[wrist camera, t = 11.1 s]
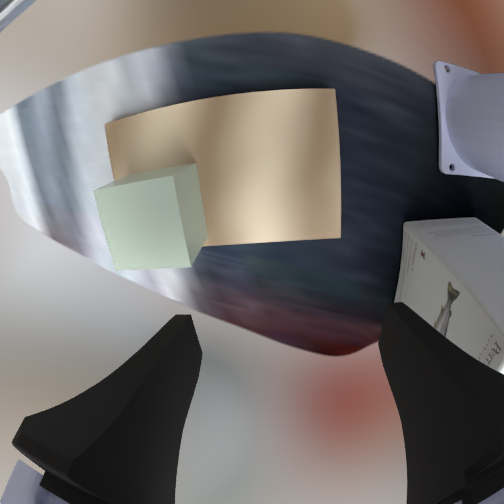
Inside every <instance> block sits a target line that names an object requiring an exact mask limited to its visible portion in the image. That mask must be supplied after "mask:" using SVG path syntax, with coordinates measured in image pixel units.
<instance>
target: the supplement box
mask: <svg viewBox="0 0 504 504" xmlns="http://www.w3.org/2000/svg"><path fill="white" fill-rule="evenodd" d="M395 302H403V303H404V304H406V305H407V306H408V307H410V308H411V309H412V310H413V311H414V312H416V313H417V314H418V315H419V316H420V317H422V318H423V319H424V320H425V321H426V322H428V323H429V324H430V325H431V326H432V327H434V328H435V329H436V330H437V331H438V332H440V333H441V334H442V335H443V336H445V337H446V338H447V339H449V340H450V341H451V342H452V343H454V344H455V345H457V346H458V347H459V348H461V349H462V350H463V351H465V352H466V353H468V354H469V355H471V356H472V357H474V358H475V359H477V360H479V361H480V362H482V363H483V364H485V365H487V366H489V367H490V368H492V369H494V370H496V371H498V372H500V373H502V374H504V237H503V236H502V235H500V234H499V233H497V232H496V231H494V230H493V229H492V228H490V227H489V226H487V225H486V224H484V223H483V222H482V221H480V220H478V219H477V218H475V217H469V218H450V219H435V220H421V221H409V222H404V224H403V247H402V258H401V266H400V273H399V279H398V286H397V291H396V296H395V300H394V303H395Z"/></svg>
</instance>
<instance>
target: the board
mask: <svg viewBox="0 0 504 504" xmlns="http://www.w3.org/2000/svg"><path fill="white" fill-rule="evenodd" d="M105 130H106V137H107V143H108V150H109V156H110V161H111V167H112V172H113V177H114V181H116V180H118V179H120V178H123V177H125V176H127V175H130V174H135V173H140V172H145V171H151V170H156V169H162V168H167V167H173V166H179V165H186V164H193V163H197V170H198V177H199V183H200V190H201V196H202V202H203V209H204V215H205V221H206V226H207V232H208V237H207V239H206V241H205V242H204V244H203V246H216V245H231V244H246V243H262V242H278V241H294V240H310V239H327V238H341V171H340V146H339V129H338V116H337V104H336V94H335V89H287V90H271V91H259V92H249V93H241V94H233V95H225V96H219V97H212V98H206V99H200V100H195V101H190V102H185V103H180V104H175V105H171V106H166V107H162V108H158V109H154V110H150V111H146V112H143V113H139V114H135V115H132V116H128V117H125V118H122V119H119V120H115V121H112V122H109V123H106V124H105Z"/></svg>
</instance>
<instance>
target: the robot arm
mask: <svg viewBox="0 0 504 504" xmlns="http://www.w3.org/2000/svg"><path fill="white" fill-rule="evenodd" d="M444 66H445V67H446V68H447V72H446V71H445V69H444ZM433 67H434V74H435V83H436V92H437V103H438V120H439V169H440V171H441V172H442V173H444V174H452V175H465V176H475V177H485V178H494V179H498V180H500V181H503V182H504V73H492V74H480V73H478V72H475V71H472V70H469V69H466V68H463V67H460V66H457V65H453V64H450V63H447V62H443V61H436V62H435V63H434V65H433ZM450 164H451V165H452V168H451V170H450V169H449V166H450ZM378 345H379V349H380V354H381V359H382V363H383V367H384V370H385V373H386V376H387V378H388V381H389V384H390V387H391V390H392V393H393V396H394V399H395V402H396V405H397V408H398V411H399V415H400V419H401V423H402V429H403V435H404V441H405V450H406V460H407V482H408V483H407V504H504V374H502V373H500V372H498V371H496V370H494V369H492V368H490V367H489V366H487V365H485V364H483V363H482V362H480V361H479V360H477V359H475V358H474V357H472V356H471V355H469V354H468V353H466V352H465V351H463V350H462V349H461V348H459V347H458V346H457V345H455V344H454V343H452V342H451V341H450V340H449V339H447V338H446V337H445V336H443V335H442V334H441V333H440V332H438V331H437V330H436V329H435V328H434V327H432V326H431V325H430V324H429V323H428V322H426V321H425V320H424V319H423V318H422V317H420V316H419V315H418V314H417V313H416V312H414V311H413V310H412V309H411V308H410V307H408V306H407V305H406V304H404V303H403V302H395V303H387V308H386V313H385V317H384V322H383V326H382V330H381V335H380V339H379V343H378ZM201 359H202V350H201V347H200V344H199V340H198V337H197V334H196V331H195V327H194V324H193V320H192V317H191V315H175V316H174V317H173V318H172V319H171V320H169V321H168V322H167V323H166V324H165V325H164V326H163V327H162V328H161V329H160V330H159V331H158V332H157V333H156V334H155V335H154V336H153V337H152V338H151V339H150V340H149V341H148V342H147V343H146V344H145V345H144V346H143V347H142V348H141V349H140V350H139V351H138V352H136V353H135V354H134V355H133V356H132V357H131V358H129V359H128V360H127V361H126V362H125V363H124V364H123V365H121V366H120V367H119V368H118V369H116V370H115V371H114V372H113V373H111V374H110V375H109V376H107V377H106V378H104V379H103V380H102V381H100V382H99V383H97V384H96V385H94V386H92V387H91V388H89V389H88V390H86V391H84V392H83V393H81V394H79V395H78V396H76V397H74V398H72V399H70V400H68V401H66V402H64V403H62V404H60V405H57V406H55V407H53V408H50V409H48V410H45V411H42V412H39V413H36V414H33V415H31V416H27V417H25V418H24V420H23V422H22V424H21V426H20V427H19V429H18V431H17V433H16V435H15V437H14V439H13V441H12V444H13V446H14V447H15V448H17V449H18V450H19V451H20V452H21V453H22V454H24V455H25V456H26V457H27V458H29V459H30V460H31V461H33V462H34V463H35V464H37V465H38V466H39V467H41V468H42V469H43V470H45V473H44V475H41V474H40V473H39V472H37V471H36V470H34V469H32V468H31V467H30V466H28V465H27V464H25V463H24V462H22V461H21V460H18V461H17V463H16V465H15V467H14V470H13V472H12V474H11V476H10V479H9V481H8V483H7V486H6V488H5V491H4V493H3V496H2V498H1V501H0V502H1V504H175V487H176V474H177V465H178V458H179V450H180V444H181V438H182V432H183V428H184V424H185V420H186V417H187V414H188V410H189V407H190V404H191V400H192V397H193V394H194V391H195V387H196V384H197V381H198V377H199V371H200V366H201Z"/></svg>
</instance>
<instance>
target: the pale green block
mask: <svg viewBox="0 0 504 504" xmlns="http://www.w3.org/2000/svg"><path fill="white" fill-rule="evenodd" d="M94 195H95V199H96V203H97V207H98V211H99V215H100V219H101V223H102V227H103V230H104V234H105V237H106V240H107V244H108V247H109V250H110V254H111V257H112V260H113V263H114V266H115V269H116V270H135V269H158V268H179V267H191V266H192V264H193V263H194V261H195V259H196V257H197V255H198V253H199V252H200V250H201V248H202V246H203V244H204V242H205V241H206V239H207V237H208V232H207V226H206V221H205V215H204V209H203V202H202V196H201V190H200V183H199V177H198V170H197V163H193V164H186V165H179V166H173V167H167V168H162V169H156V170H151V171H145V172H140V173H135V174H130V175H127V176H125V177H123V178H120V179H118V180H116V181H114V182H111V183H109V184H107V185H105V186H103V187H101V188H99V189H97V190H94Z"/></svg>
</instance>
